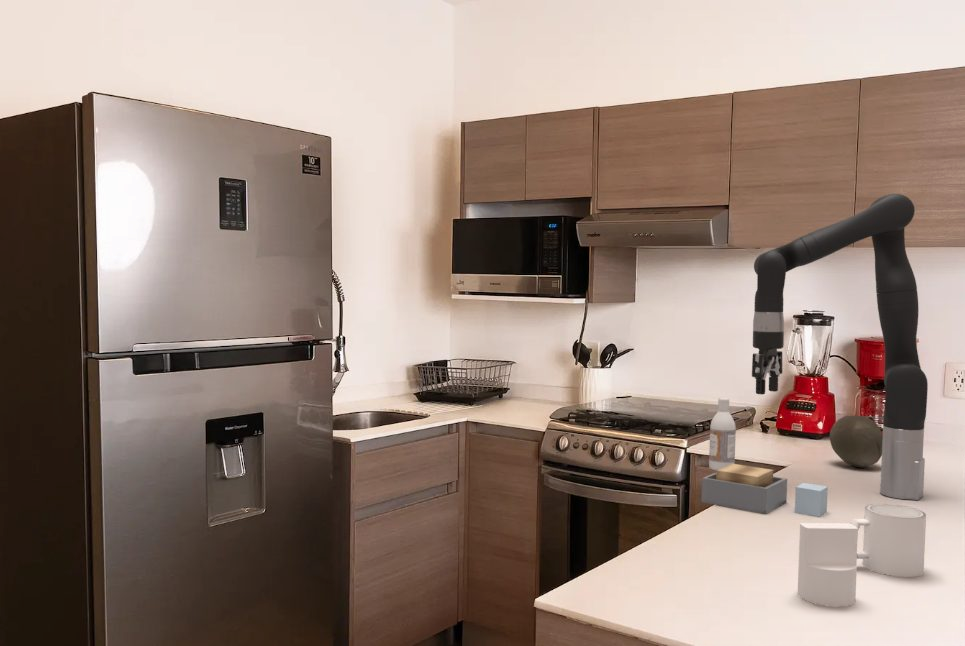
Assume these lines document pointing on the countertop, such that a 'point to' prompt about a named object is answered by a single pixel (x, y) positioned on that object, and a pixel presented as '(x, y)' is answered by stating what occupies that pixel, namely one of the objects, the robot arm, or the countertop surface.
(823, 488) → the light blue cube
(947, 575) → the countertop surface
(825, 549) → the base with upright slab
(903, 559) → the mug
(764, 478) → the oak block
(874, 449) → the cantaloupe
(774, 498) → the tote
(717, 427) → the bath foam
